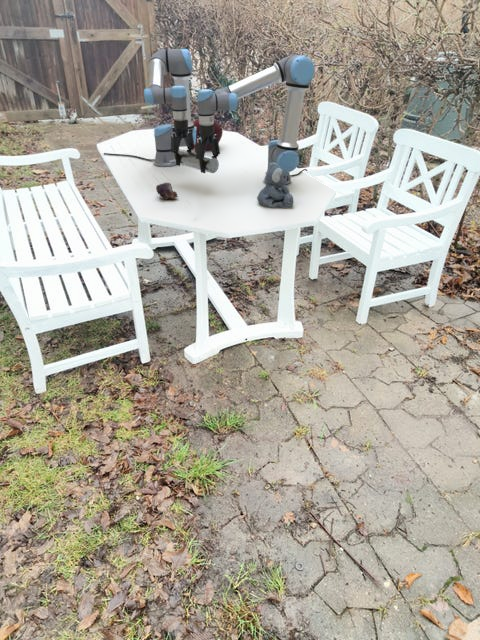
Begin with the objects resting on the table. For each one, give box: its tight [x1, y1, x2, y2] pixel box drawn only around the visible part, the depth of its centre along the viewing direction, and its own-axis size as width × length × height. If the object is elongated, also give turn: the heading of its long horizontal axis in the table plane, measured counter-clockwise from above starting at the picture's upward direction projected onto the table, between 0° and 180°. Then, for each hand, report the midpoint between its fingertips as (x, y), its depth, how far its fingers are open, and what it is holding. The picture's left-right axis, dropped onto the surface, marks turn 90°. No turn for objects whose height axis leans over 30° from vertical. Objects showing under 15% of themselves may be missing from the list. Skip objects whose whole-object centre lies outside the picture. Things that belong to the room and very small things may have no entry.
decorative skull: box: [193, 119, 224, 153], centre depth 321 cm, size 21×24×25 cm
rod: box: [174, 148, 220, 174], centre depth 240 cm, size 27×8×8 cm, turn 48°
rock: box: [155, 182, 178, 200], centre depth 237 cm, size 12×9×10 cm
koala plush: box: [256, 163, 294, 209], centre depth 226 cm, size 17×18×20 cm
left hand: (184, 163), depth 247 cm, fingers closed on rod, 8 cm apart
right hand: (208, 170), depth 236 cm, fingers closed on rod, 8 cm apart
